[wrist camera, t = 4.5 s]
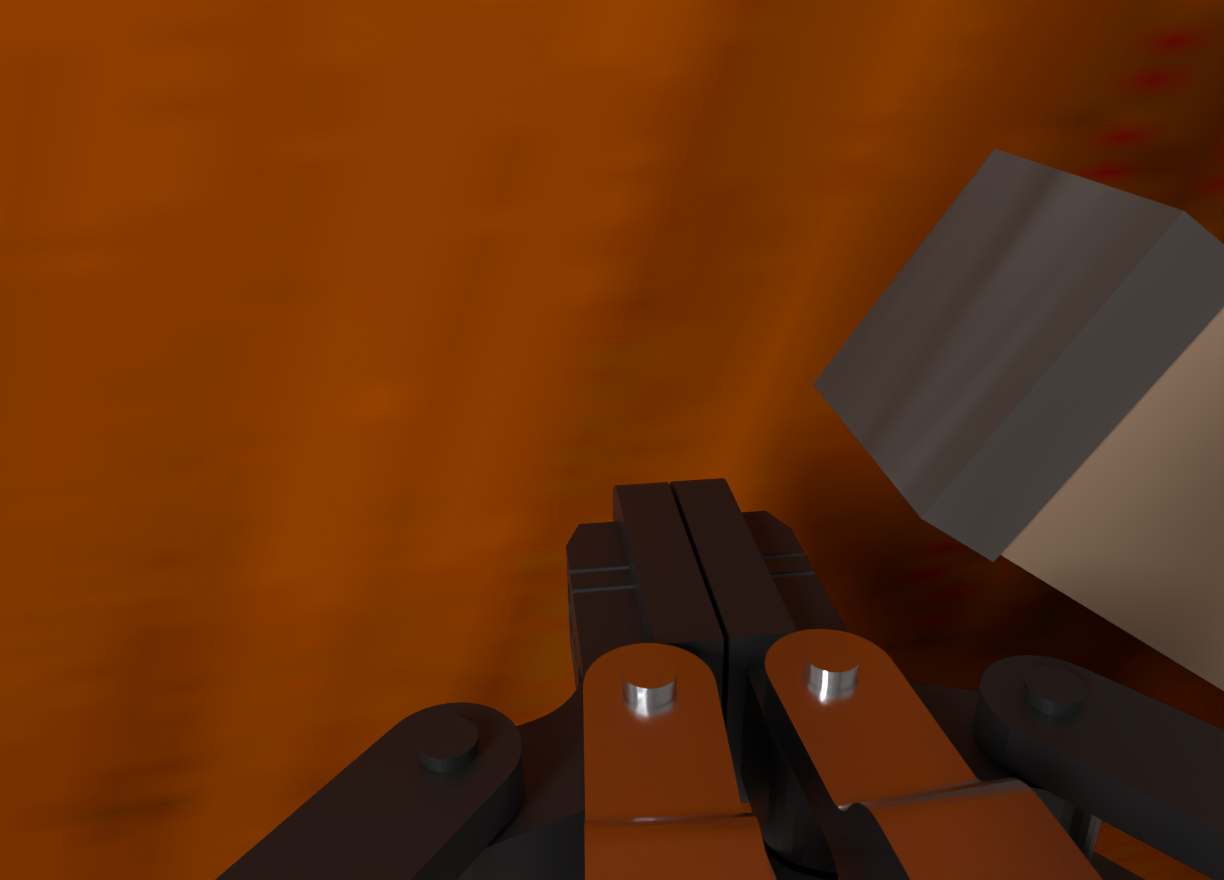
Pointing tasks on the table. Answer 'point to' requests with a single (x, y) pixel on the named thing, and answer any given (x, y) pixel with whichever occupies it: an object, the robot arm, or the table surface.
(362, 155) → the table surface
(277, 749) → the table surface
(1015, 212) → the hinged leg
